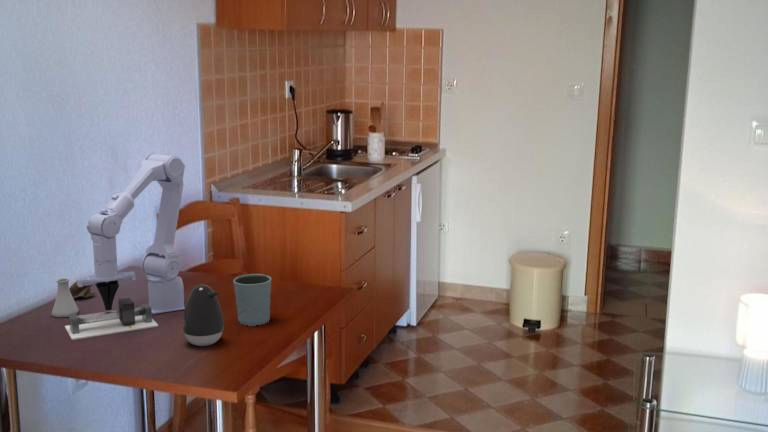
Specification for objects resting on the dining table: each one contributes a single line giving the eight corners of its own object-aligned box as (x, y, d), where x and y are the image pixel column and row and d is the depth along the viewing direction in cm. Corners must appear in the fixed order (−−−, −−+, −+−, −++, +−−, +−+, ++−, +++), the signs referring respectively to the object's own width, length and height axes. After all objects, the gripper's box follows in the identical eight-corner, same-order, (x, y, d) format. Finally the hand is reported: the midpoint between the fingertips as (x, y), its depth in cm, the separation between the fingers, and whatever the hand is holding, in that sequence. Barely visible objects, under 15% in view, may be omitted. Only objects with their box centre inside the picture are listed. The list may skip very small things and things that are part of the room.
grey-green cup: (279, 320, 229) (278, 278, 226) (250, 329, 221) (249, 286, 219) (256, 312, 235) (255, 271, 233) (227, 321, 228) (225, 278, 226)
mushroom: (104, 286, 248) (90, 270, 247) (84, 302, 242) (70, 285, 241) (94, 293, 253) (80, 277, 252) (74, 309, 248) (60, 293, 247)
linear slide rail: (148, 318, 229) (147, 303, 228) (152, 323, 225) (151, 307, 224) (70, 330, 219) (68, 314, 218) (73, 335, 215) (71, 319, 215)
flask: (69, 319, 228) (67, 284, 226) (45, 317, 230) (43, 282, 228) (84, 311, 235) (82, 277, 233) (61, 309, 237) (58, 275, 235)
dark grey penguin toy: (205, 352, 205) (203, 293, 202) (174, 344, 210) (172, 286, 207) (233, 340, 213) (231, 283, 210) (203, 333, 218) (201, 277, 215)
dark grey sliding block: (130, 318, 227) (129, 297, 226) (135, 323, 223) (134, 302, 222) (119, 319, 226) (118, 299, 224) (123, 325, 221) (122, 304, 220)
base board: (147, 314, 232) (147, 313, 232) (158, 326, 223) (158, 324, 223) (64, 327, 222) (64, 325, 222) (72, 340, 212) (71, 338, 212)
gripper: (129, 253, 225) (132, 301, 228) (73, 259, 218) (76, 308, 221) (136, 258, 219) (138, 308, 222) (78, 265, 212) (81, 316, 215)
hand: (108, 309), depth 221 cm, fingers closed
